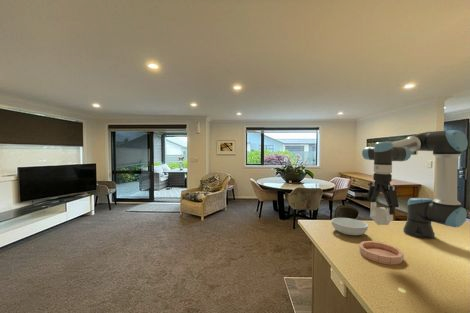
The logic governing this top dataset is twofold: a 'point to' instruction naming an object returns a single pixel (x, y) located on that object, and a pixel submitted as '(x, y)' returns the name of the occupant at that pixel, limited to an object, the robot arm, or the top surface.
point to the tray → (381, 252)
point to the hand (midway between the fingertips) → (381, 217)
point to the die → (379, 215)
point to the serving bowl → (349, 226)
